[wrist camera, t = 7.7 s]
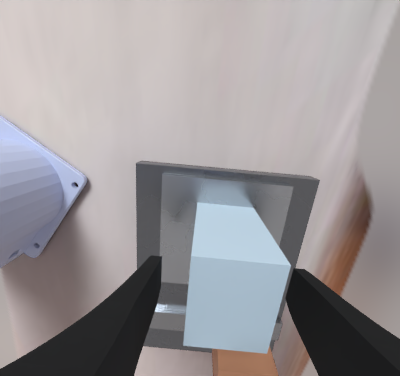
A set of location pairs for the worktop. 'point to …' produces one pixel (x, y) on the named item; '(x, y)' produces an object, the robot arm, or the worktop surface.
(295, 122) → the worktop surface
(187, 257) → the base
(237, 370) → the lever
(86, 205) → the worktop surface
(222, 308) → the housing block
